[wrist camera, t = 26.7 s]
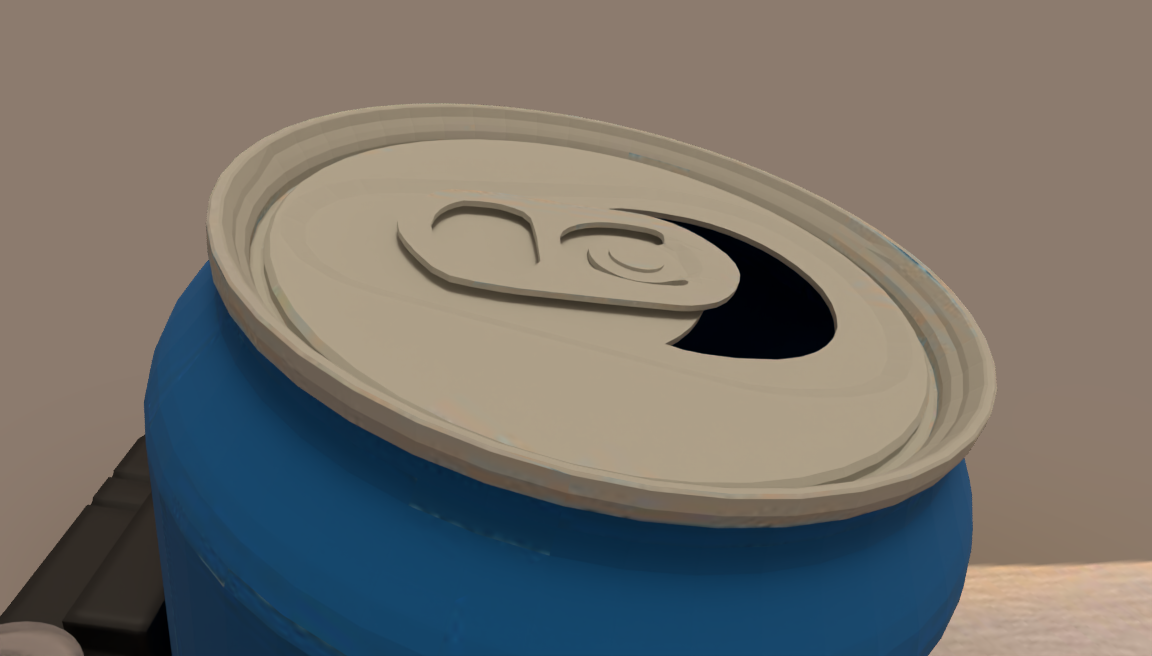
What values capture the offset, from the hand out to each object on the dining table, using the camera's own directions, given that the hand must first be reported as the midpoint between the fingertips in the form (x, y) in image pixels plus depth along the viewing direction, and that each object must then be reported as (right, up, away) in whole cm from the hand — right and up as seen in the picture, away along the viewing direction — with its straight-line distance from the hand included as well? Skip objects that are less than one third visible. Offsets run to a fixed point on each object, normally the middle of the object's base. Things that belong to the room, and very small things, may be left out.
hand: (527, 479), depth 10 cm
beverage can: (-2, -7, +2) cm, 8 cm away
